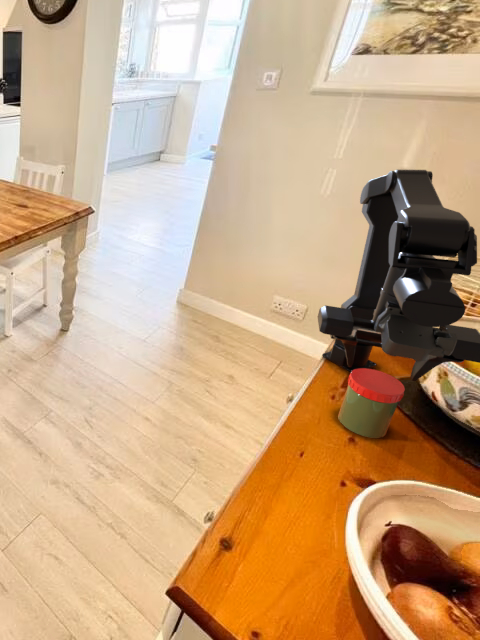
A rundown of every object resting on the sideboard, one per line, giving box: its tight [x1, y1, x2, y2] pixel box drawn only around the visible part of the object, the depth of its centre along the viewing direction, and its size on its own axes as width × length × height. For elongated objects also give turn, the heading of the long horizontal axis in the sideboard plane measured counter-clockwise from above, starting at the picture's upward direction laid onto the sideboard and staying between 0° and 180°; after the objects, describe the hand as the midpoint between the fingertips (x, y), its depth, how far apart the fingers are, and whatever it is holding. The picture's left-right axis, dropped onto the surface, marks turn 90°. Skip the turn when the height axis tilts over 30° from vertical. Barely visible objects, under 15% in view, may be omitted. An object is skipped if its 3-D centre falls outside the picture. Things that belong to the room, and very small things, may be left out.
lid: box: [347, 368, 406, 403], centre depth 70 cm, size 7×7×2 cm
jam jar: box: [337, 383, 399, 439], centre depth 71 cm, size 6×6×10 cm
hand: (379, 372), depth 69 cm, fingers open, 7 cm apart
